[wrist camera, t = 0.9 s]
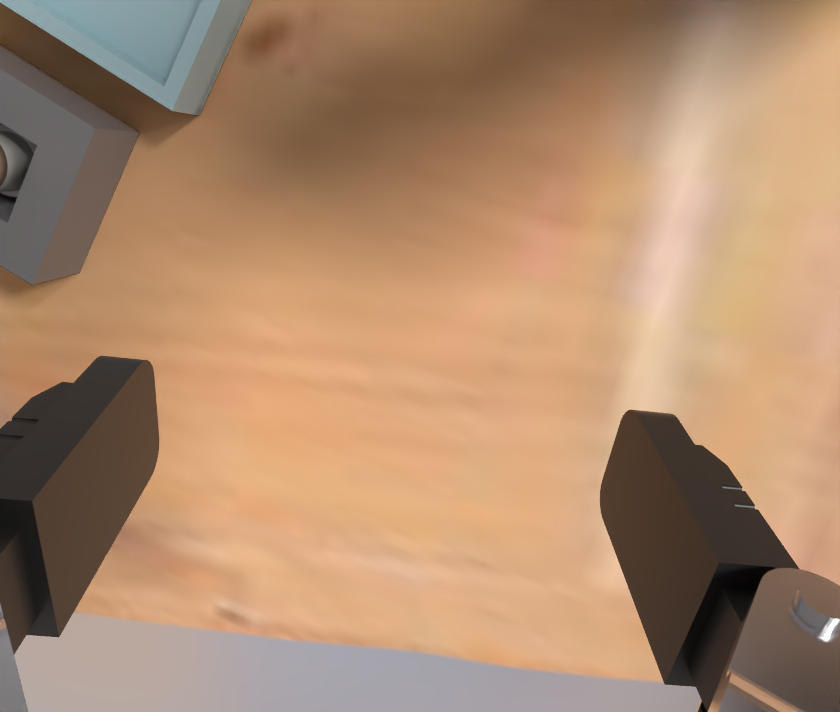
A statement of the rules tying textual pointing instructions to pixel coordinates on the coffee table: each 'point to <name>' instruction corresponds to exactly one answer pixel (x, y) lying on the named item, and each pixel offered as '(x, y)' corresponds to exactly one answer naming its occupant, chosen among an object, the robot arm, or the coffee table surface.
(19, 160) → the white light bulb
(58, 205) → the socket block
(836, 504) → the coffee table surface
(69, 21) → the parts tray
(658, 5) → the coffee table surface
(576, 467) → the coffee table surface
